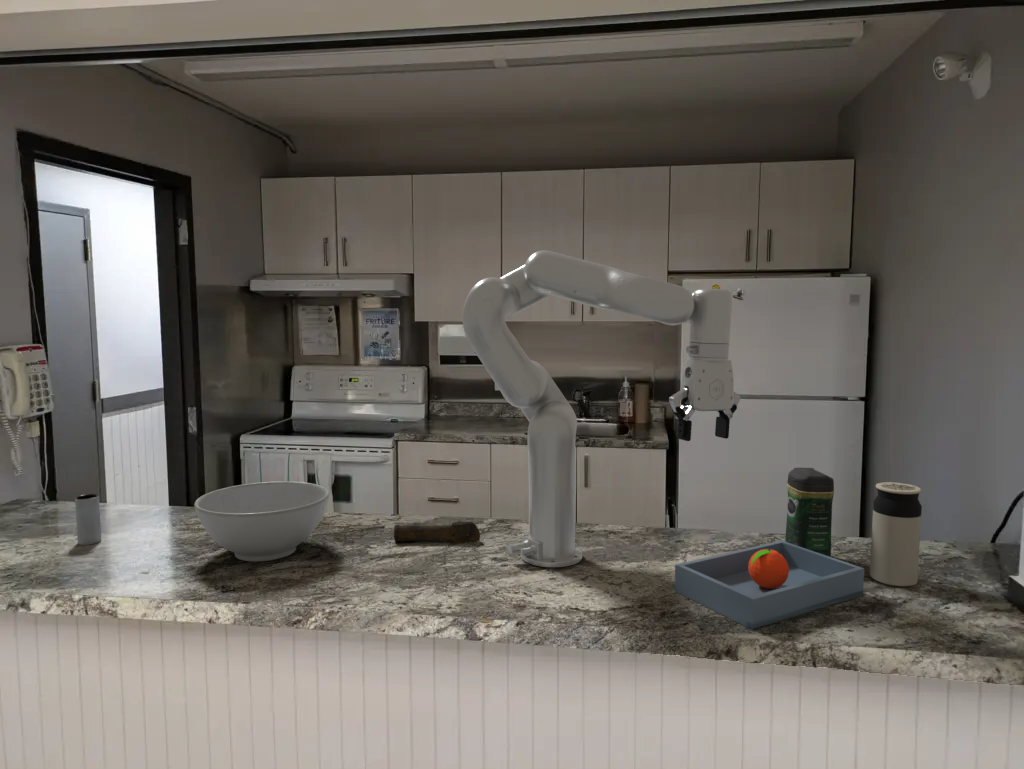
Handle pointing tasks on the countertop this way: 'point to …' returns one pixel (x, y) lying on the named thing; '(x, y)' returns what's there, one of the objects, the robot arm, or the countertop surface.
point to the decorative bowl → (262, 517)
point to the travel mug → (896, 534)
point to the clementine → (768, 568)
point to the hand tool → (438, 532)
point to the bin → (753, 606)
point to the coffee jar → (809, 510)
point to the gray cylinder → (88, 519)
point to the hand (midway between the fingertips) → (703, 438)
